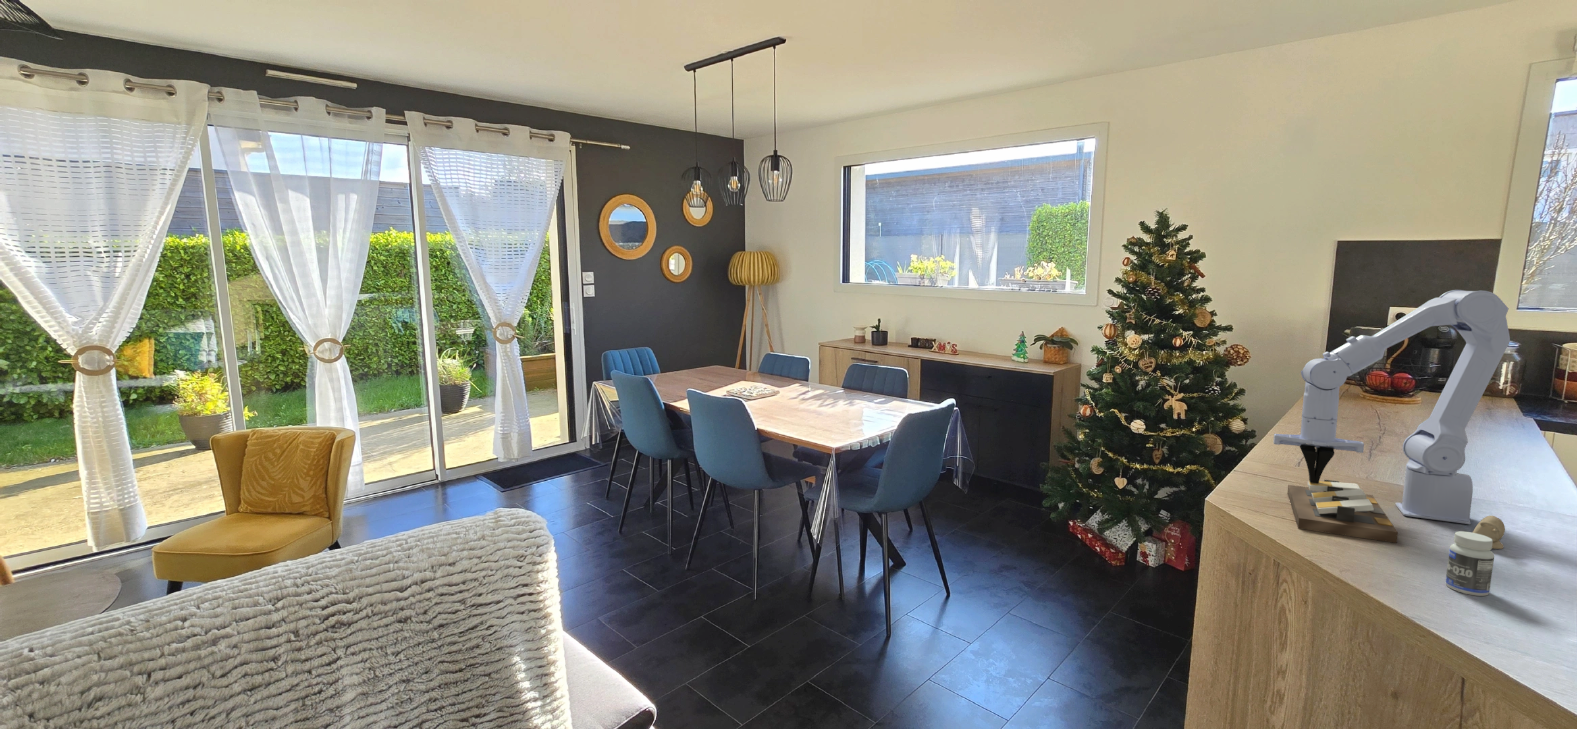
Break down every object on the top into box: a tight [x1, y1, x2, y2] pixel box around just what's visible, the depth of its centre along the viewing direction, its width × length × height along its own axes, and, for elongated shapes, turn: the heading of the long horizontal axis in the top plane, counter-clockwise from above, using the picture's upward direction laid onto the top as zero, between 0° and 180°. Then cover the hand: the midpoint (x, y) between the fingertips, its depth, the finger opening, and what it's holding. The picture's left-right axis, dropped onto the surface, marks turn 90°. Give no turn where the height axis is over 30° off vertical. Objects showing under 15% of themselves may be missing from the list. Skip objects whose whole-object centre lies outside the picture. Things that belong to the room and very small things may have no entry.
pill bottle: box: [1445, 530, 1495, 597], centre depth 101 cm, size 5×5×8 cm
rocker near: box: [1316, 499, 1374, 514], centre depth 127 cm, size 8×4×1 cm, turn 57°
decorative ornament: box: [1472, 515, 1506, 550], centre depth 117 cm, size 4×8×5 cm, turn 127°
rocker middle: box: [1311, 488, 1367, 503], centre depth 132 cm, size 8×4×1 cm, turn 58°
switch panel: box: [1286, 479, 1399, 544], centre depth 133 cm, size 14×24×5 cm, turn 148°
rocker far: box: [1307, 480, 1361, 491], centre depth 138 cm, size 8×4×1 cm, turn 58°
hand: (1313, 481), depth 140 cm, fingers closed
